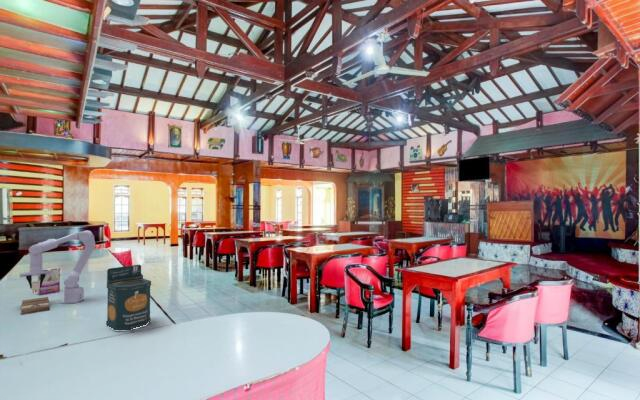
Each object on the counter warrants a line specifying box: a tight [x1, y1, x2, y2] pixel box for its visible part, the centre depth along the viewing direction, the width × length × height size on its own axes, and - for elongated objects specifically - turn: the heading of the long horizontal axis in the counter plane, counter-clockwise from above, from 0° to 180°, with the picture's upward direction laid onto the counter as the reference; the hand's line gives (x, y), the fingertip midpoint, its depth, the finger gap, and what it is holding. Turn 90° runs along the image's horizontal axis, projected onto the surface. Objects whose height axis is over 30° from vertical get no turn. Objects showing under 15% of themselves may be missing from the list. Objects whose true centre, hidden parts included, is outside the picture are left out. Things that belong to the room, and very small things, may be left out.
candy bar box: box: [37, 267, 61, 296], centre depth 226 cm, size 11×5×16 cm, turn 143°
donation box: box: [105, 264, 152, 331], centre depth 166 cm, size 16×16×28 cm
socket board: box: [20, 296, 51, 316], centre depth 194 cm, size 24×12×2 cm, turn 41°
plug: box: [31, 280, 40, 294], centre depth 198 cm, size 4×4×6 cm
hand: (35, 287), depth 198 cm, fingers closed on plug, 4 cm apart
